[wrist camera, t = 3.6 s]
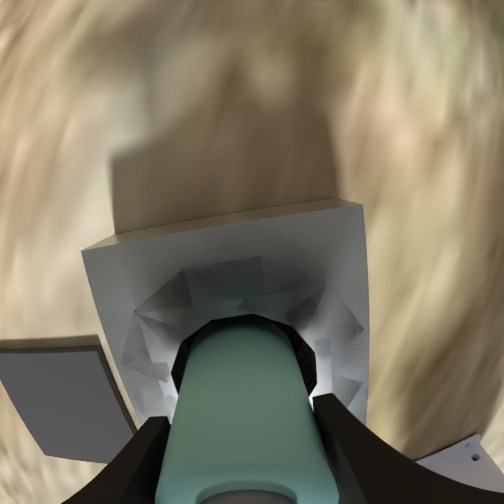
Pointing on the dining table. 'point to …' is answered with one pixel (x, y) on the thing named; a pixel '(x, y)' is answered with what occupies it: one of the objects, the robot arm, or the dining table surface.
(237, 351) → the teal and grey cylinder
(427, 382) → the dining table surface
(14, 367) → the mat
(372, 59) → the dining table surface
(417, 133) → the dining table surface
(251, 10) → the dining table surface
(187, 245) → the housing
